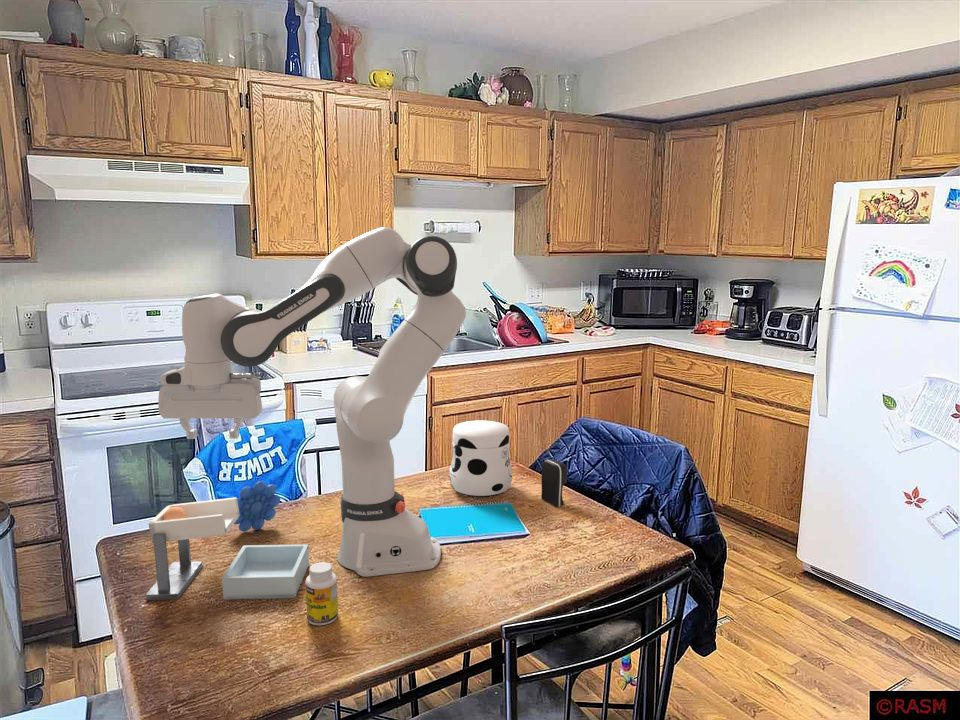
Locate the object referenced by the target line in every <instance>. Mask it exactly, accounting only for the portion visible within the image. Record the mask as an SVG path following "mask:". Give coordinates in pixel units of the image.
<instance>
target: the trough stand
mask: <svg viewBox="0 0 960 720" xmlns="http://www.w3.org/2000/svg"><path fill="white" fill-rule="evenodd" d="M153 542H154V543H153V549H154V552H153V553H154V562H155V572H156V573H155V574H156V582H155V583H154V584H153V585H152V586H151V588H150V589H149V590H148V591H147V593H146V594H145V601H174V600H175V601H177V600H179V599H180V598H181V597H182V595H183V593H184V592H185V591H186V590H187V589H188V587H189V585H191V583H192V581H194V579H195V578H196V577H197V575H198V573H199V572H200V571H201V570H202V569H203V566H204V565H203V561H192V558H191V557H192V555H191V546H190V545H191V544H190V539H185V540H177V545H178V546H177V547H178V556H179V559H178V560H179V561H173V562H172V563H171V564H170V565H169V559H168V548H167V547H168V545H167V542H166V534H165V533H155V534H154V535H153Z"/></svg>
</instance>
